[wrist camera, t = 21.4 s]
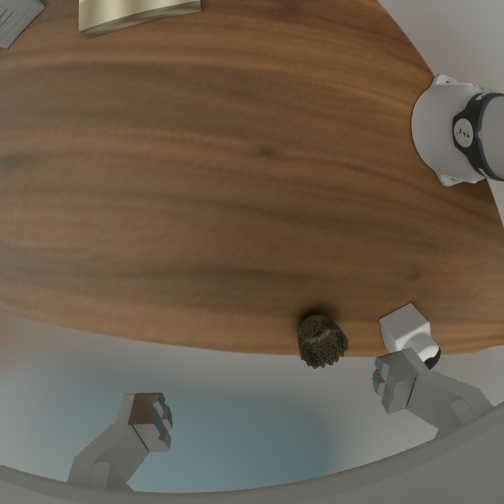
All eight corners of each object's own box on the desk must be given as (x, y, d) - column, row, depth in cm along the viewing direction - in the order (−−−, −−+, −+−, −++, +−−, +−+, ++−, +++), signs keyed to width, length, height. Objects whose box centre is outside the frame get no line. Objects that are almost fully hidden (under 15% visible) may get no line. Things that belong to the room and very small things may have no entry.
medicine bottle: (414, 328, 55) (445, 365, 44) (383, 345, 55) (411, 385, 44) (410, 301, 52) (445, 338, 41) (377, 318, 53) (408, 359, 42)
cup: (281, 318, 50) (291, 349, 43) (319, 293, 49) (335, 320, 42) (304, 345, 53) (315, 376, 45) (339, 322, 52) (356, 350, 44)
